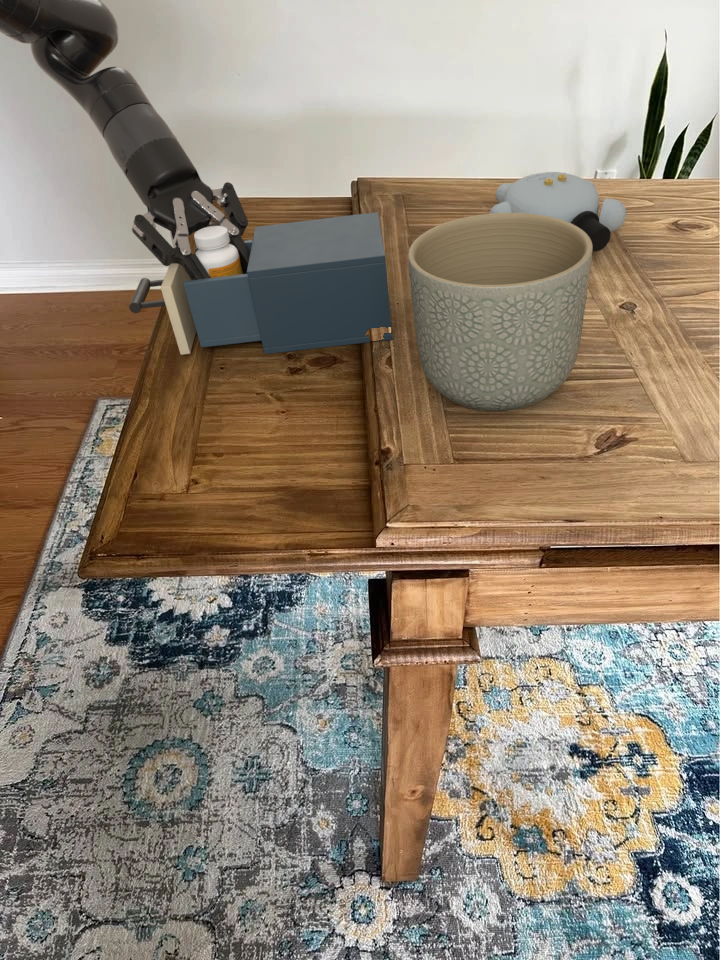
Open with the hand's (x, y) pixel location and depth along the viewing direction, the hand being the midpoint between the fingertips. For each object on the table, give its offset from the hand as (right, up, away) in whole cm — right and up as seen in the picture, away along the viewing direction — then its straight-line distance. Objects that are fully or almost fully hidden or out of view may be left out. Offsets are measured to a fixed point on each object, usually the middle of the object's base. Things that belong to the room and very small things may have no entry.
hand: (228, 276), depth 87 cm
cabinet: (+12, -4, +6) cm, 14 cm away
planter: (+30, -14, -9) cm, 35 cm away
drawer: (-2, -5, +6) cm, 8 cm away
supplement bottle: (-1, -3, +4) cm, 5 cm away
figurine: (+44, +10, +18) cm, 48 cm away
